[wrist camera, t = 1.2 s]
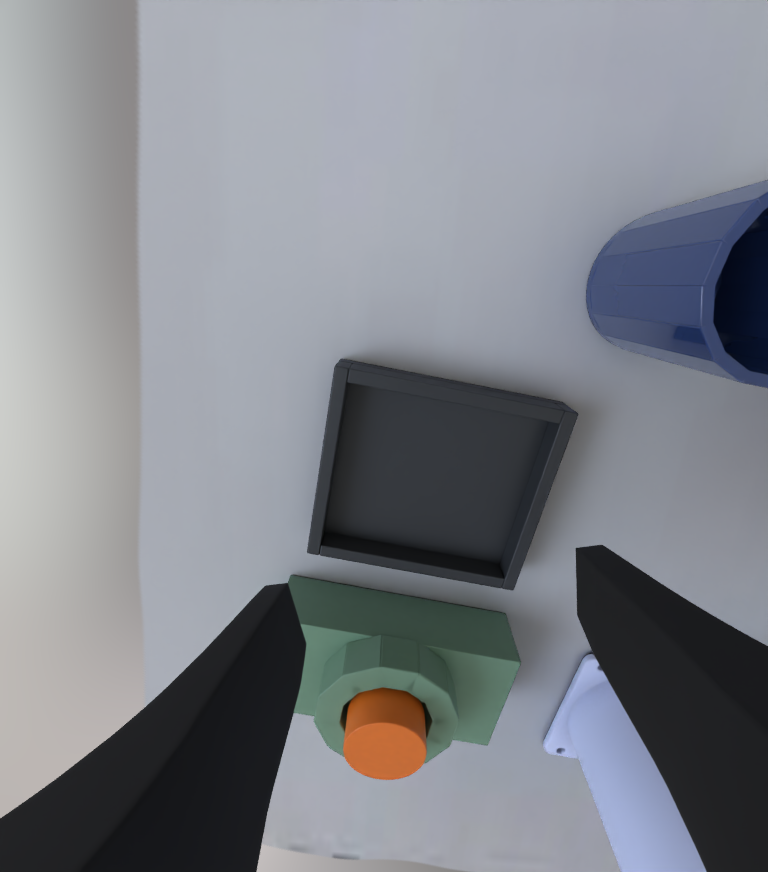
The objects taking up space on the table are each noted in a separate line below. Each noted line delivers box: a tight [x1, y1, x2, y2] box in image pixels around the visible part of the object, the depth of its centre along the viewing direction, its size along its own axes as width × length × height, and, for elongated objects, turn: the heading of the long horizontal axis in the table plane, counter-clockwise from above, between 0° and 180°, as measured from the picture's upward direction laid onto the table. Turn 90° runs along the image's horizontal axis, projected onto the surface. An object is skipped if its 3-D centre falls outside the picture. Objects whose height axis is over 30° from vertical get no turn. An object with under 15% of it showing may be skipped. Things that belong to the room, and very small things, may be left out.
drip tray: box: [307, 359, 578, 590], centre depth 19 cm, size 10×9×2 cm
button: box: [343, 687, 427, 780], centre depth 19 cm, size 4×4×2 cm
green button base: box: [288, 575, 521, 764], centre depth 21 cm, size 12×6×5 cm, turn 79°
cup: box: [586, 180, 768, 388], centre depth 14 cm, size 5×5×7 cm
